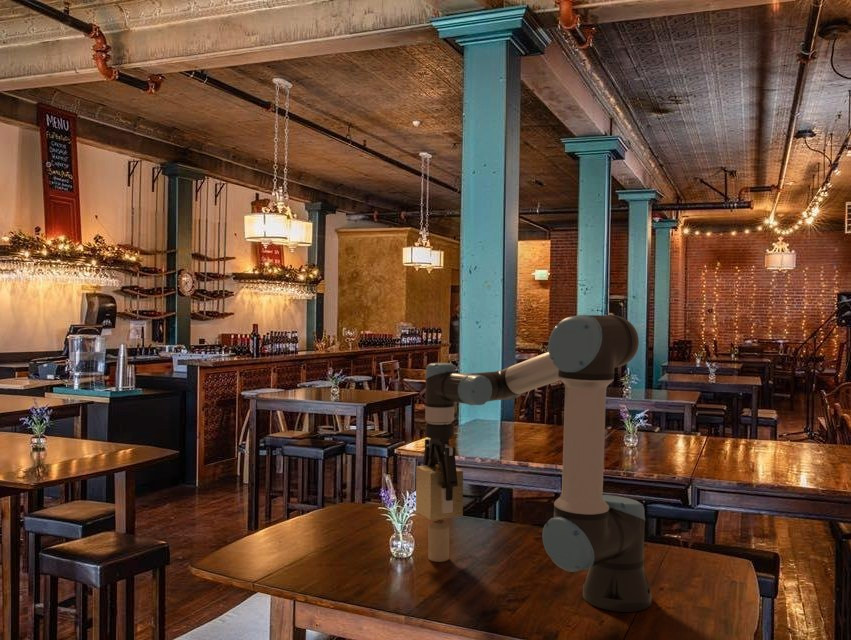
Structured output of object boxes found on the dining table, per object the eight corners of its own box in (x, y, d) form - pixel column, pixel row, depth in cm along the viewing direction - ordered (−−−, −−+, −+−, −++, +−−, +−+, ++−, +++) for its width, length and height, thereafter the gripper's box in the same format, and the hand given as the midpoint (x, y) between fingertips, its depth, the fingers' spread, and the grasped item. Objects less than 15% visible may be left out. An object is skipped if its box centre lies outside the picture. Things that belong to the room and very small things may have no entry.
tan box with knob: (462, 516, 192) (463, 466, 191) (430, 519, 188) (430, 469, 187) (447, 506, 200) (447, 459, 200) (415, 510, 196) (416, 461, 196)
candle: (436, 553, 198) (437, 516, 198) (453, 558, 194) (453, 520, 194) (423, 558, 194) (424, 520, 194) (440, 563, 190) (440, 525, 190)
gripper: (472, 427, 185) (471, 517, 185) (435, 415, 205) (434, 496, 205) (445, 429, 182) (444, 520, 182) (410, 416, 202) (409, 498, 202)
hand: (439, 507), depth 194 cm, fingers closed on tan box with knob, 9 cm apart
